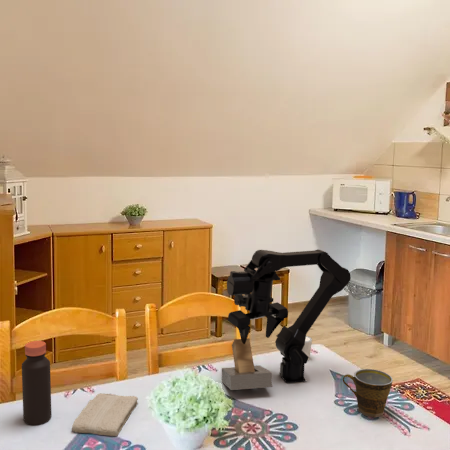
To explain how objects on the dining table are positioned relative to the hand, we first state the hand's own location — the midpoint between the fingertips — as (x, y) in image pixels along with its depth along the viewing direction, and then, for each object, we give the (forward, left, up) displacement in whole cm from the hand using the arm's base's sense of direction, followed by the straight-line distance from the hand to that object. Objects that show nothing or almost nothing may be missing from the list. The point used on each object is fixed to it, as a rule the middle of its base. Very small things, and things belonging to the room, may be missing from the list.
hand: (255, 340), depth 157 cm
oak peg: (+4, +7, -9) cm, 13 cm away
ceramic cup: (-25, +23, -13) cm, 36 cm away
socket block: (+4, +6, -11) cm, 13 cm away
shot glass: (-20, -13, -13) cm, 27 cm away
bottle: (+61, +13, -13) cm, 64 cm away
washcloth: (+44, +15, -13) cm, 48 cm away
